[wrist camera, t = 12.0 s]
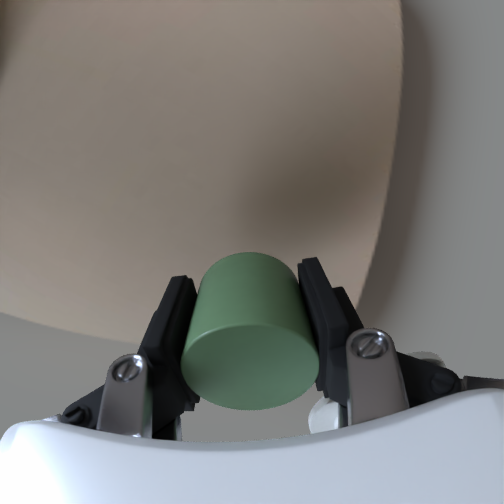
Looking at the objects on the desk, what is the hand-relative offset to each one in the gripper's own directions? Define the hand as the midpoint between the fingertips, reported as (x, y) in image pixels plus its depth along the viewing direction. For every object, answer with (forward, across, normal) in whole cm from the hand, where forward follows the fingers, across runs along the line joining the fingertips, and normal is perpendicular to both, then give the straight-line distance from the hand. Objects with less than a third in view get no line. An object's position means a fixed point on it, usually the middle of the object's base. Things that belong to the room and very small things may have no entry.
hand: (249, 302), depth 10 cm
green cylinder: (0, 0, 0) cm, 0 cm away
